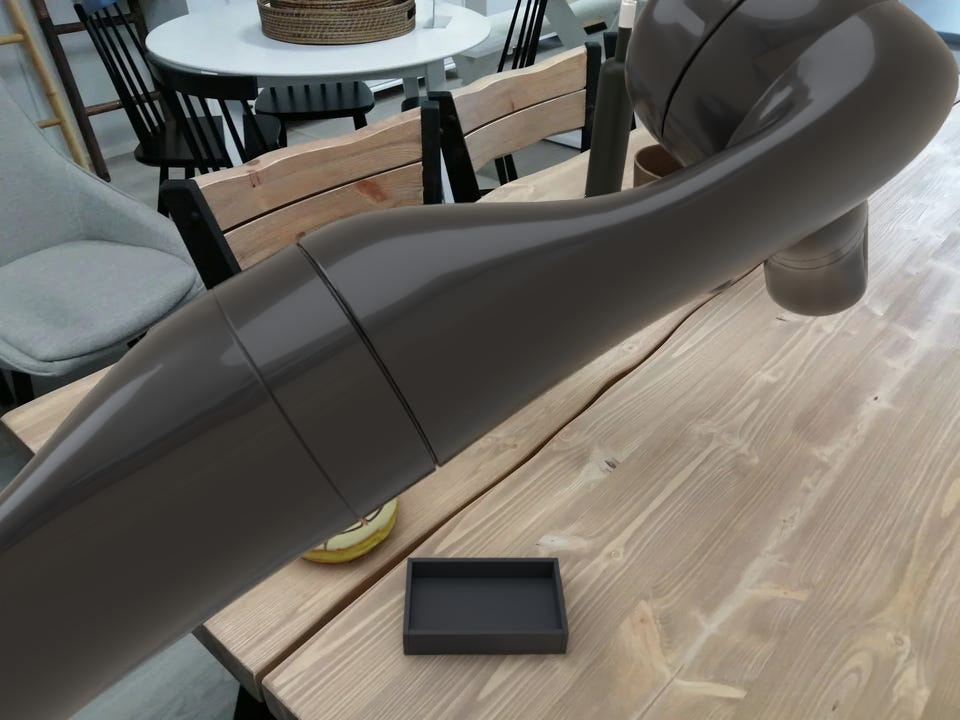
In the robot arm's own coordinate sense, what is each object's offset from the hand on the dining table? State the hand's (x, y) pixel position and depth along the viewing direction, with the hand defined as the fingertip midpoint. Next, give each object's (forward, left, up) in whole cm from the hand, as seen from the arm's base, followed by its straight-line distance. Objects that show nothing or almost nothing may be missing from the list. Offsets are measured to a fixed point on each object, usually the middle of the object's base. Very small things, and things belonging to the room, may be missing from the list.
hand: (432, 259), depth 69 cm
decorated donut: (-19, -5, -16) cm, 25 cm away
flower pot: (+41, -8, -16) cm, 45 cm away
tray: (-18, -20, -16) cm, 32 cm away
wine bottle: (+57, +12, -16) cm, 60 cm away
